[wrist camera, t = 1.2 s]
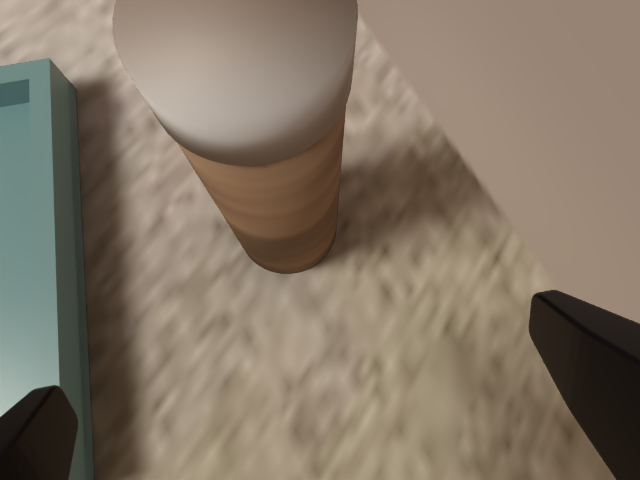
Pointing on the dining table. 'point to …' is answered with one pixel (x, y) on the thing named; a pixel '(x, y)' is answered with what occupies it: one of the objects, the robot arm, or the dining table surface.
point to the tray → (43, 247)
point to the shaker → (252, 109)
